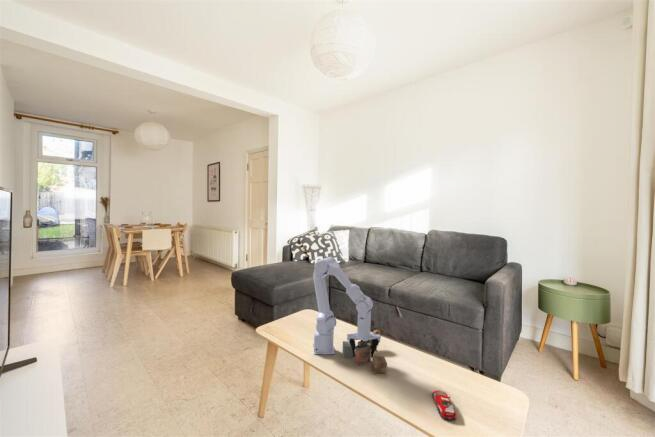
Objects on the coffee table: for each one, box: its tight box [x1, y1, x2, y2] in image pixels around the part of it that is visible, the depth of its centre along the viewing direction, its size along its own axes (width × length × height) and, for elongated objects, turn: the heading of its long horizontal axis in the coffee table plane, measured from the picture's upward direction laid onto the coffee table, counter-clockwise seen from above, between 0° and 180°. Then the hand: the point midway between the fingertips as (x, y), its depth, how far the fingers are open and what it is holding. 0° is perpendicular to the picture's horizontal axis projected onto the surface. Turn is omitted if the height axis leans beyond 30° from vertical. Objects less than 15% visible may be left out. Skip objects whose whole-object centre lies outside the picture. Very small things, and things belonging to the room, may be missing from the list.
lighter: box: [354, 340, 372, 366], centre depth 127 cm, size 8×3×10 cm, turn 118°
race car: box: [431, 389, 457, 421], centre depth 100 cm, size 13×5×4 cm, turn 174°
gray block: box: [342, 340, 354, 358], centre depth 133 cm, size 5×5×5 cm
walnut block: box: [371, 355, 388, 375], centre depth 121 cm, size 5×5×5 cm
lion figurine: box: [370, 329, 382, 352], centre depth 136 cm, size 15×5×9 cm, turn 129°
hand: (362, 355), depth 127 cm, fingers closed on lighter, 7 cm apart
